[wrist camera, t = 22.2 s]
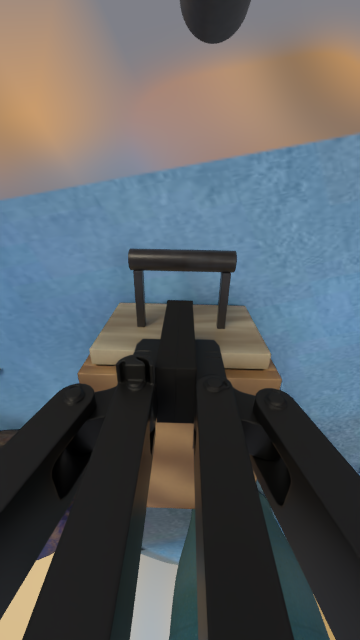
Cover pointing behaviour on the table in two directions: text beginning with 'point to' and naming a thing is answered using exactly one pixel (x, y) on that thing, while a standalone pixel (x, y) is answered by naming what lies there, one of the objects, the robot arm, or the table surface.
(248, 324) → the drawer
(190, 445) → the cabinet
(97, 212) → the table surface
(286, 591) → the flower pot
